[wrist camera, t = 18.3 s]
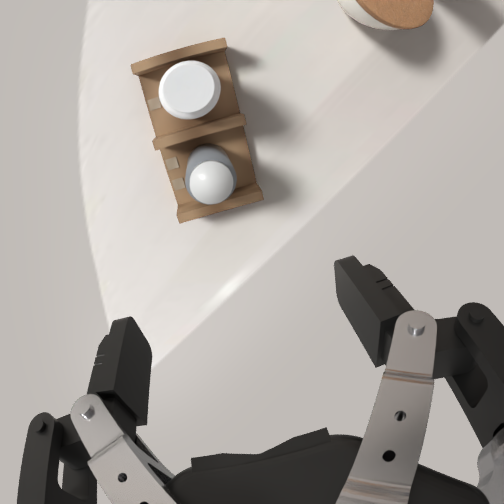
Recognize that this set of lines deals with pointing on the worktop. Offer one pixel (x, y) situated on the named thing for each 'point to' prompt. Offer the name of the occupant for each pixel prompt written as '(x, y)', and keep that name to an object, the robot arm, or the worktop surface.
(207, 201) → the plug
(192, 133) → the rack
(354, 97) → the worktop surface
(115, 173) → the worktop surface
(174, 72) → the pill bottle
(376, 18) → the lidded jar
